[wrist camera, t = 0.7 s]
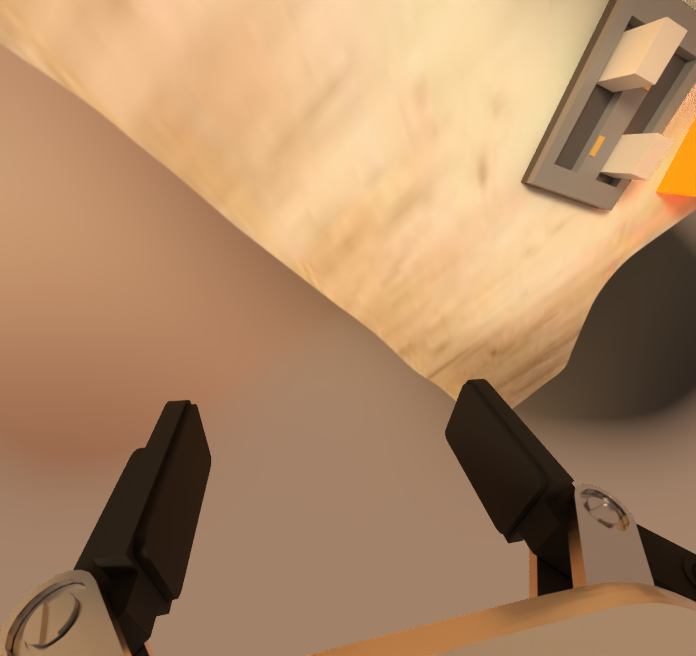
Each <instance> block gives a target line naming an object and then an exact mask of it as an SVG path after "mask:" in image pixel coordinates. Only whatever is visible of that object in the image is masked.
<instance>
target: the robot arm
mask: <svg viewBox="0 0 696 656" xmlns="http://www.w3.org/2000/svg"><path fill="white" fill-rule="evenodd" d="M445 436H446V439H447V441H448V443H449V445H450V447H451V448H452V450H453V452H454V454H455V455H456V457H457V459H458V461H459V463H460V464H461V466H462V468H463V470H464V472H465V473H466V475H467V477H468V479H469V480H470V482H471V484H472V486H473V488H474V489H475V491H476V493H477V495H478V497H479V499H480V500H481V502H482V504H483V506H484V507H485V509H486V511H487V513H488V515H489V516H490V518H491V520H492V522H493V524H494V525H495V527H496V529H497V530H498V531H499V532H500V533H501V534H503V535H504V537H505V538H506V540H507V542H508V543H513V542H518V541H523V539H524V540H525V541H526V543H527V545H528V547H529V599H526V600H522V601H518V602H514V603H510V604H506V605H502V606H498V607H494V608H490V609H486V610H482V611H478V612H474V613H470V614H466V615H462V616H458V617H454V618H450V619H446V620H442V621H438V622H435V623H430V624H427V625H423V626H419V627H415V628H411V629H407V630H403V631H399V632H395V633H391V634H387V635H384V636H379V637H376V638H372V639H368V640H364V641H360V642H356V643H352V644H349V645H345V646H341V647H337V648H334V649H329V650H325V651H322V652H318V653H315V654H310V655H307V656H696V554H694V553H692V552H690V551H688V550H686V549H684V548H682V547H680V546H678V545H676V544H675V543H673V542H670V541H669V540H667V539H665V538H663V537H661V536H659V535H657V534H655V533H653V532H651V531H649V530H647V529H645V528H643V527H642V526H640V525H638V524H636V523H635V520H634V518H633V516H632V515H631V513H630V512H629V510H628V509H627V508H626V507H625V506H624V505H623V504H622V503H621V502H620V501H619V500H618V499H617V498H616V497H614V496H613V495H612V494H610V493H609V492H607V491H605V490H603V489H602V488H600V487H597V486H594V485H590V484H581V485H578V486H577V487H576V488H575V487H574V486H573V484H572V482H573V481H574V480H573V479H572V478H571V476H570V475H569V474H568V473H567V472H566V471H565V470H564V468H563V467H562V466H561V465H560V464H559V463H558V462H557V460H556V459H555V458H554V457H553V456H552V455H551V454H550V452H549V451H548V450H547V449H546V448H545V447H544V446H543V444H542V443H541V442H540V441H539V440H538V439H537V438H536V436H535V435H534V434H533V433H532V432H531V431H530V430H529V428H528V427H527V426H526V425H525V424H524V423H523V422H522V420H521V419H520V418H519V417H518V416H517V415H516V413H515V412H514V411H513V410H512V409H511V408H510V407H509V405H508V404H507V403H506V402H505V401H504V400H503V399H502V397H501V396H500V395H499V394H498V393H497V392H496V391H495V389H494V388H493V387H492V386H491V385H490V384H489V383H488V382H487V381H486V380H485V379H475V380H468V381H467V382H466V384H464V385H463V386H462V389H461V392H460V394H459V397H458V399H457V402H456V404H455V407H454V410H453V412H452V415H451V417H450V420H449V422H448V425H447V428H446V431H445ZM210 466H211V455H210V451H209V447H208V444H207V440H206V436H205V433H204V429H203V426H202V422H201V418H200V414H199V411H198V407H197V405H196V404H192V405H191V402H190V401H189V400H182V401H169V402H167V404H166V405H165V407H164V409H163V411H162V413H161V416H160V418H159V420H158V422H157V424H156V426H155V428H154V430H153V433H152V435H151V437H150V439H149V441H148V443H147V445H146V447H145V448H139V449H137V450H136V451H134V452H133V454H132V455H131V457H130V459H129V461H128V463H127V465H126V467H125V468H124V470H123V473H122V475H121V476H120V478H119V481H118V482H117V484H116V486H115V488H114V490H113V492H112V495H111V496H110V498H109V500H108V502H107V504H106V506H105V508H104V510H103V512H102V514H101V516H100V518H99V520H98V522H97V524H96V526H95V528H94V530H93V532H92V534H91V536H90V538H89V540H88V542H87V544H86V546H85V548H84V550H83V552H82V554H81V556H80V558H79V560H78V562H77V564H76V566H75V568H74V570H69V571H66V572H64V573H61V574H58V575H55V576H54V577H52V578H50V579H49V580H47V581H45V582H44V583H42V584H41V585H39V586H38V587H37V588H36V589H34V590H33V591H32V592H31V593H29V594H28V595H27V596H26V597H25V598H24V599H23V600H22V601H21V602H20V603H19V605H18V606H17V607H16V608H15V609H14V610H13V611H12V612H11V614H10V615H9V617H8V618H7V620H6V621H5V623H4V624H3V626H2V627H1V629H0V656H153V654H152V651H151V649H150V647H149V644H148V642H147V640H148V639H149V638H150V636H151V633H152V629H153V626H154V622H155V618H156V616H160V615H165V614H169V611H170V607H171V603H172V600H174V599H178V597H179V596H180V593H181V590H182V586H183V582H184V578H185V574H186V569H187V565H188V561H189V557H190V552H191V548H192V544H193V539H194V535H195V531H196V527H197V523H198V518H199V514H200V510H201V506H202V501H203V497H204V493H205V489H206V484H207V480H208V476H209V472H210Z"/></svg>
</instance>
